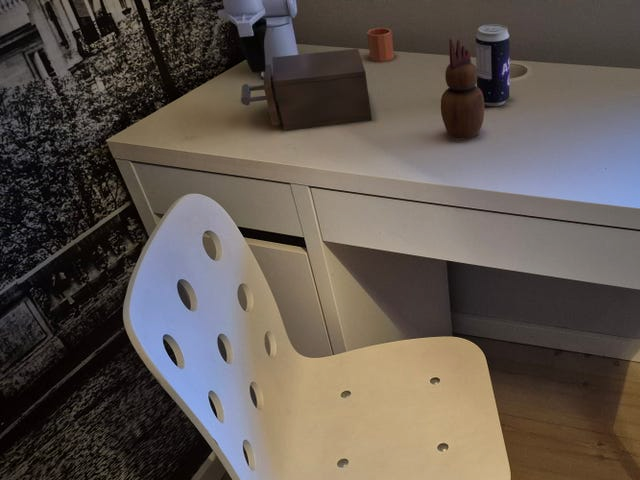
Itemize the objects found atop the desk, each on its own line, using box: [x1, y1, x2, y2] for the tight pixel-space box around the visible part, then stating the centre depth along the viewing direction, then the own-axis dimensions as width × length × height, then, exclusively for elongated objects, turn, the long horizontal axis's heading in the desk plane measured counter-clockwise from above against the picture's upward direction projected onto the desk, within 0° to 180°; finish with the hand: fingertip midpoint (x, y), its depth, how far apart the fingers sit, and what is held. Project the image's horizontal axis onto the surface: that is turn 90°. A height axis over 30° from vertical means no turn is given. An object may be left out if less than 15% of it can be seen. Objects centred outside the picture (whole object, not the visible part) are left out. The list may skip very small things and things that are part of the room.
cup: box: [366, 27, 395, 63], centre depth 134 cm, size 5×5×5 cm
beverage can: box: [475, 23, 511, 107], centre depth 114 cm, size 6×6×12 cm
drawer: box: [240, 64, 281, 126], centre depth 113 cm, size 18×10×6 cm, turn 104°
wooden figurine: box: [440, 38, 485, 140], centre depth 103 cm, size 7×6×15 cm
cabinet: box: [272, 48, 373, 131], centre depth 113 cm, size 15×12×8 cm
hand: (259, 70), depth 109 cm, fingers closed
